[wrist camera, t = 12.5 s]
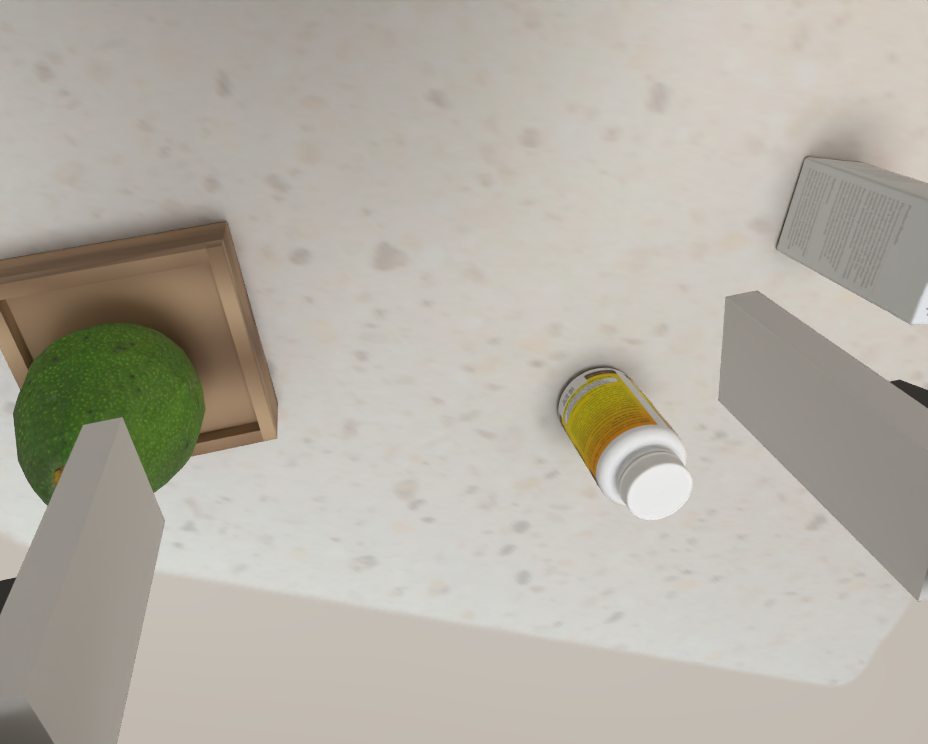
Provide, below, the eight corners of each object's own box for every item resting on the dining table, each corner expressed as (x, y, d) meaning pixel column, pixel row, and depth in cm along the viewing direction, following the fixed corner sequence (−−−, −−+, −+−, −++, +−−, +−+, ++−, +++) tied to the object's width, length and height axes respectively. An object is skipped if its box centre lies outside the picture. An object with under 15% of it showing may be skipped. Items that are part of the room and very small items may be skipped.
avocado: (192, 282, 38) (157, 401, 27) (226, 412, 42) (207, 559, 31) (24, 305, 37) (-78, 438, 26) (76, 436, 40) (4, 598, 30)
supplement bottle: (539, 418, 50) (594, 515, 41) (585, 351, 48) (652, 437, 39) (603, 445, 52) (667, 542, 44) (649, 382, 50) (725, 470, 42)
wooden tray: (0, 259, 38) (-28, 289, 35) (226, 221, 40) (221, 245, 36) (82, 442, 44) (65, 482, 40) (277, 402, 45) (277, 438, 42)
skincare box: (830, 252, 49) (976, 330, 38) (773, 249, 48) (908, 328, 37) (864, 158, 46) (1031, 214, 36) (804, 152, 45) (959, 209, 34)
